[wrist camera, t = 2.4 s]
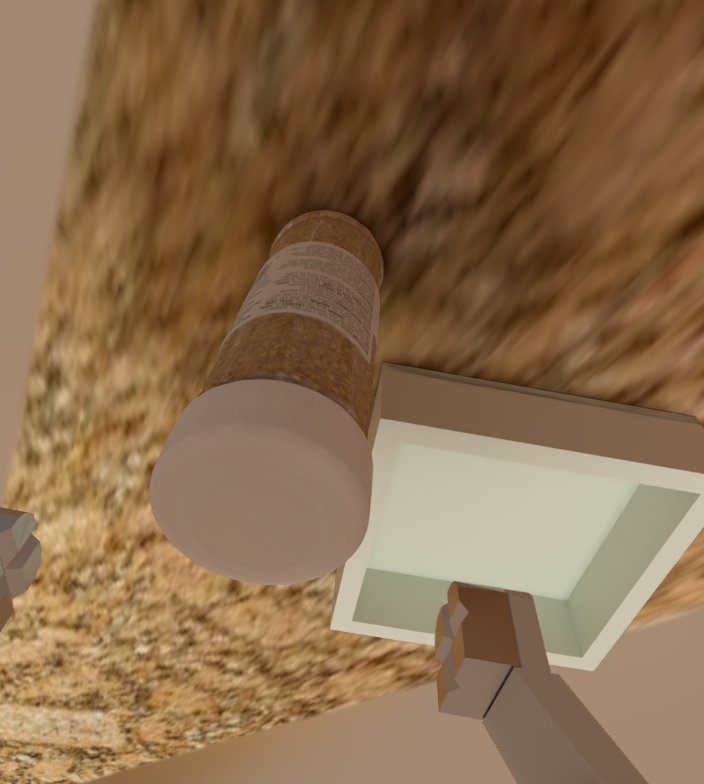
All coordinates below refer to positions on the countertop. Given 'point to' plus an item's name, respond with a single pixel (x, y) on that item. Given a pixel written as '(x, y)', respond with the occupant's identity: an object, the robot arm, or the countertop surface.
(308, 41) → the countertop surface
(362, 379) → the sprinkles bottle
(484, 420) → the bin
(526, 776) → the robot arm
